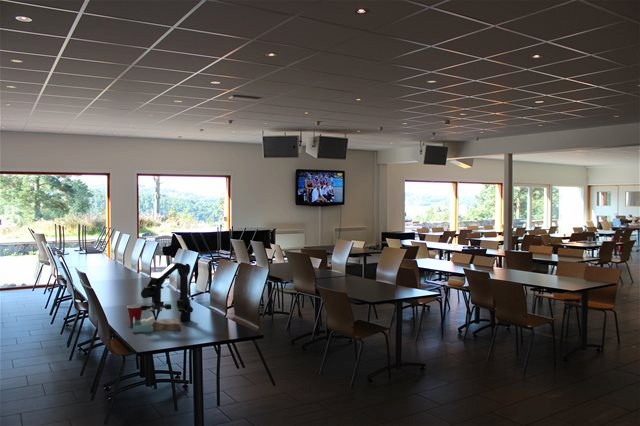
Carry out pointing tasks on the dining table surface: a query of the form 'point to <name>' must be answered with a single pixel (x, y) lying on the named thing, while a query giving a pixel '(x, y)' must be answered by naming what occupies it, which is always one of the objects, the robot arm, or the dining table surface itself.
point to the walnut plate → (166, 324)
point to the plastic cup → (134, 312)
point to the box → (141, 326)
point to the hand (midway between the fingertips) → (155, 320)
